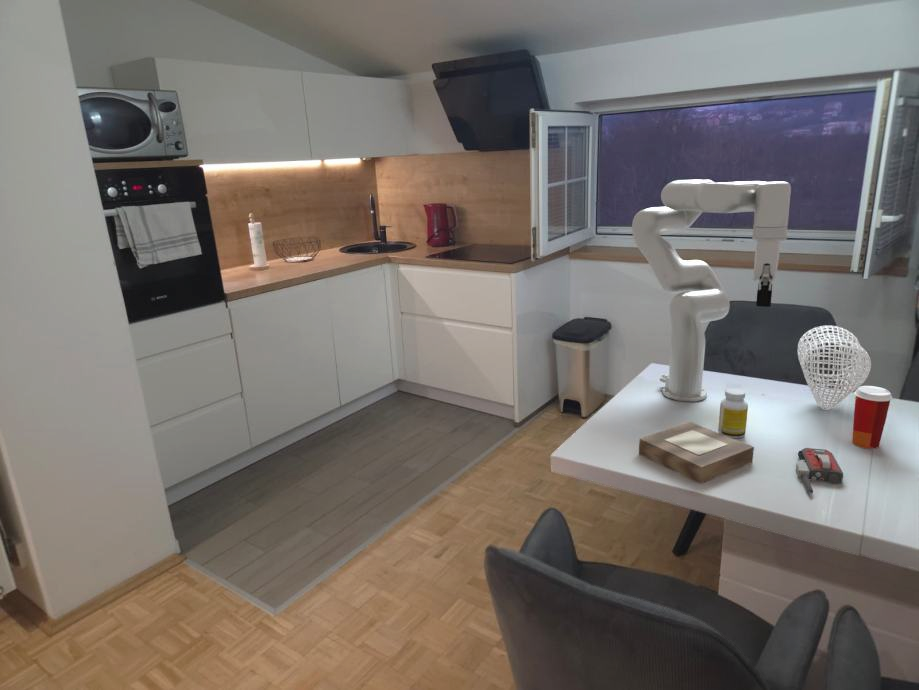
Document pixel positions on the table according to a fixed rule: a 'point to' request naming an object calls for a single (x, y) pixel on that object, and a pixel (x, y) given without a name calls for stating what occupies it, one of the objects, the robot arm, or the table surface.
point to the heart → (858, 363)
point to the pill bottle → (733, 414)
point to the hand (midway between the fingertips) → (763, 302)
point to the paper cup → (870, 416)
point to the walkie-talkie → (818, 467)
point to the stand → (696, 451)
